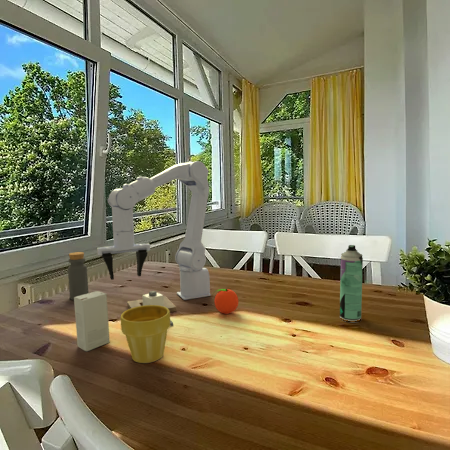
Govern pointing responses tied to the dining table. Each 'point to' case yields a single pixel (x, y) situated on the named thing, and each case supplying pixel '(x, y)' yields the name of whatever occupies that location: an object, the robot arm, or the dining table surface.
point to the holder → (137, 303)
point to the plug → (153, 299)
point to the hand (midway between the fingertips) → (125, 277)
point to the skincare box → (91, 320)
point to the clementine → (226, 301)
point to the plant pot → (146, 331)
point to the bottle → (77, 275)
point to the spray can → (351, 284)
